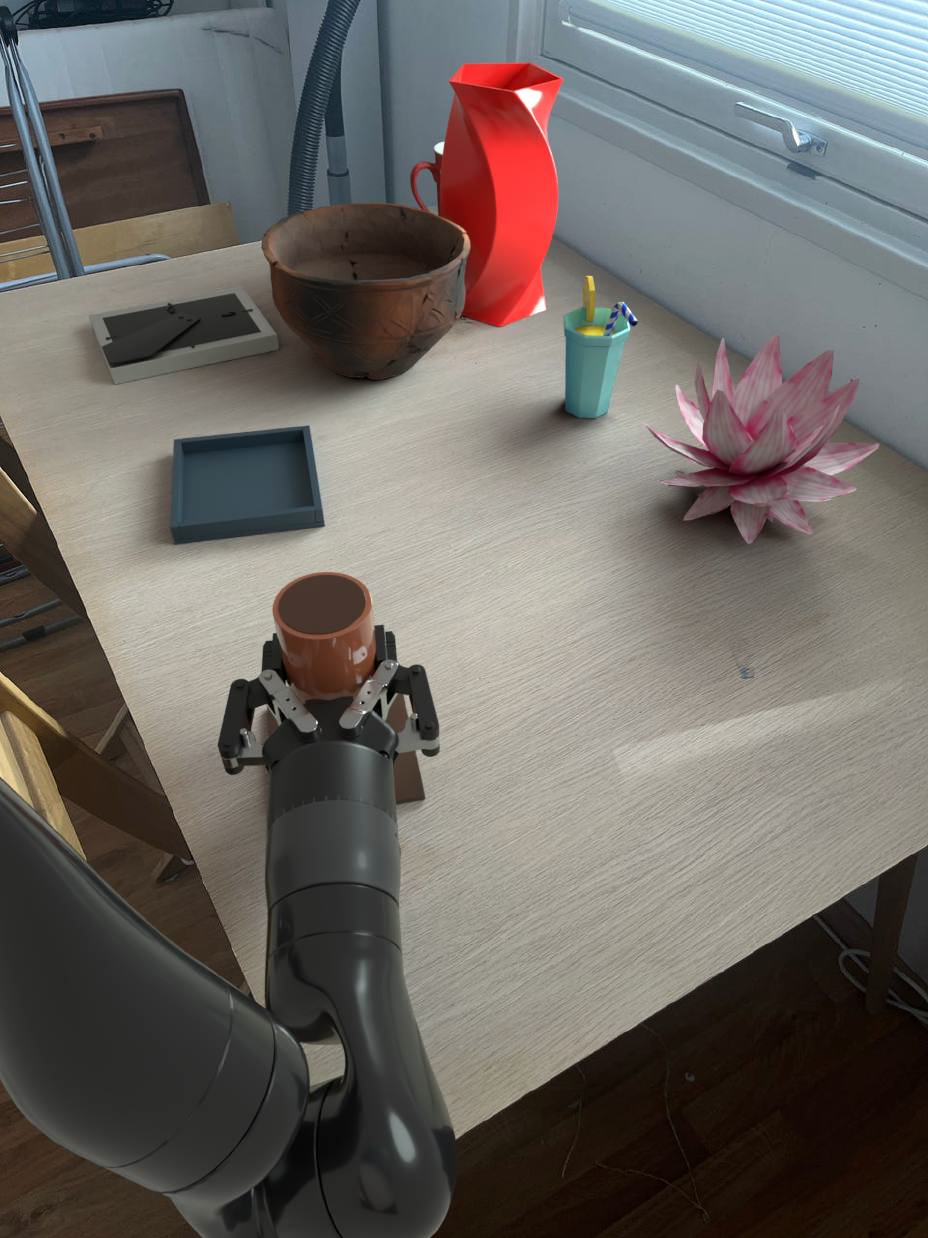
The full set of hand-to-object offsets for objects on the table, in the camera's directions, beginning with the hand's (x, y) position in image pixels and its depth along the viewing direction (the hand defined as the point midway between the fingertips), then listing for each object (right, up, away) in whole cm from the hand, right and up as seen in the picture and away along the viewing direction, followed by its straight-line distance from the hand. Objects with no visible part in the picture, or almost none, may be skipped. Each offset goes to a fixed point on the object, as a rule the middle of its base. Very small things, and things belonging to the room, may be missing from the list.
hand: (329, 637), depth 62 cm
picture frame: (-27, +38, +53) cm, 71 cm away
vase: (+13, +46, +62) cm, 78 cm away
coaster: (0, -9, +6) cm, 11 cm away
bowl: (-2, +35, +51) cm, 62 cm away
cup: (+24, +26, +42) cm, 55 cm away
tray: (-13, +15, +30) cm, 36 cm away
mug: (+7, +61, +78) cm, 99 cm away
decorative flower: (+38, +13, +29) cm, 50 cm away
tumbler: (0, -7, +4) cm, 8 cm away
